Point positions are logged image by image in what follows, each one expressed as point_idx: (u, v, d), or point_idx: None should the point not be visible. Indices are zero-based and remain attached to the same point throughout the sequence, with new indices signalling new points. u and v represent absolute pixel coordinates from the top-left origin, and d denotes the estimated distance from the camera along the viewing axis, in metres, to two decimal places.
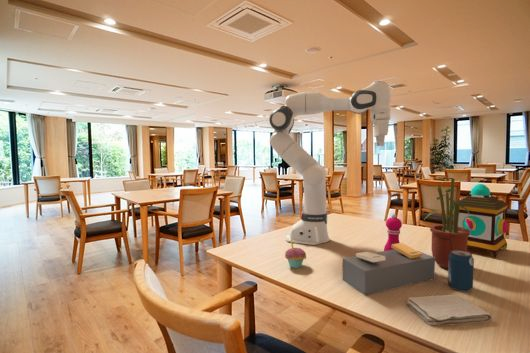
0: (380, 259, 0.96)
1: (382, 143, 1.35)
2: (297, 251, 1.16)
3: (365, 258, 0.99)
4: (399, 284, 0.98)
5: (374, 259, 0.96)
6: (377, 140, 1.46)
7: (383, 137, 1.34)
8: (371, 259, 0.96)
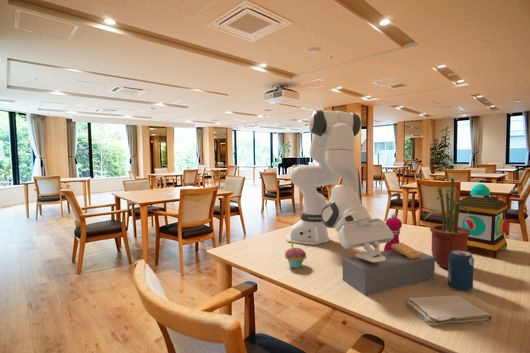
0: (380, 259, 0.96)
1: (372, 253, 0.97)
2: (297, 251, 1.16)
3: (365, 258, 0.99)
4: (399, 284, 0.98)
5: (374, 259, 0.96)
6: (375, 248, 1.00)
7: (366, 245, 0.98)
8: (371, 259, 0.96)
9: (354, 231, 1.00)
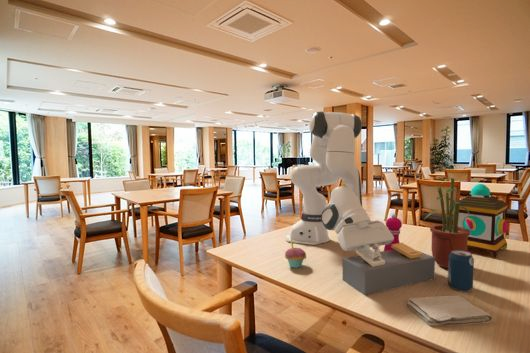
0: (380, 264, 0.97)
1: (372, 255, 0.97)
2: (297, 251, 1.16)
3: (365, 259, 0.99)
4: (399, 284, 0.98)
5: (374, 264, 0.96)
6: (375, 250, 1.00)
7: (366, 248, 0.98)
8: (371, 263, 0.96)
9: (354, 233, 1.00)
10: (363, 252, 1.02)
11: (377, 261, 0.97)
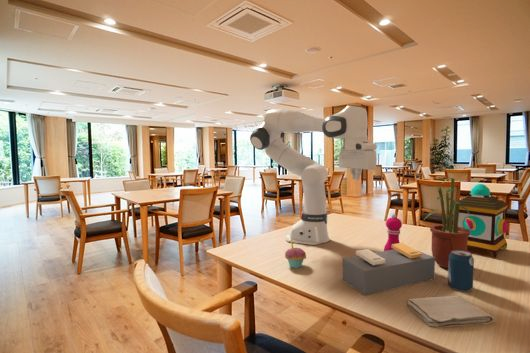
0: (380, 262, 0.96)
1: (358, 177, 1.18)
2: (297, 251, 1.16)
3: (365, 258, 0.99)
4: (399, 284, 0.98)
5: (374, 262, 0.96)
6: (352, 172, 1.21)
7: (360, 170, 1.17)
8: (371, 262, 0.96)
9: None
10: (363, 253, 1.02)
11: (377, 259, 0.97)
